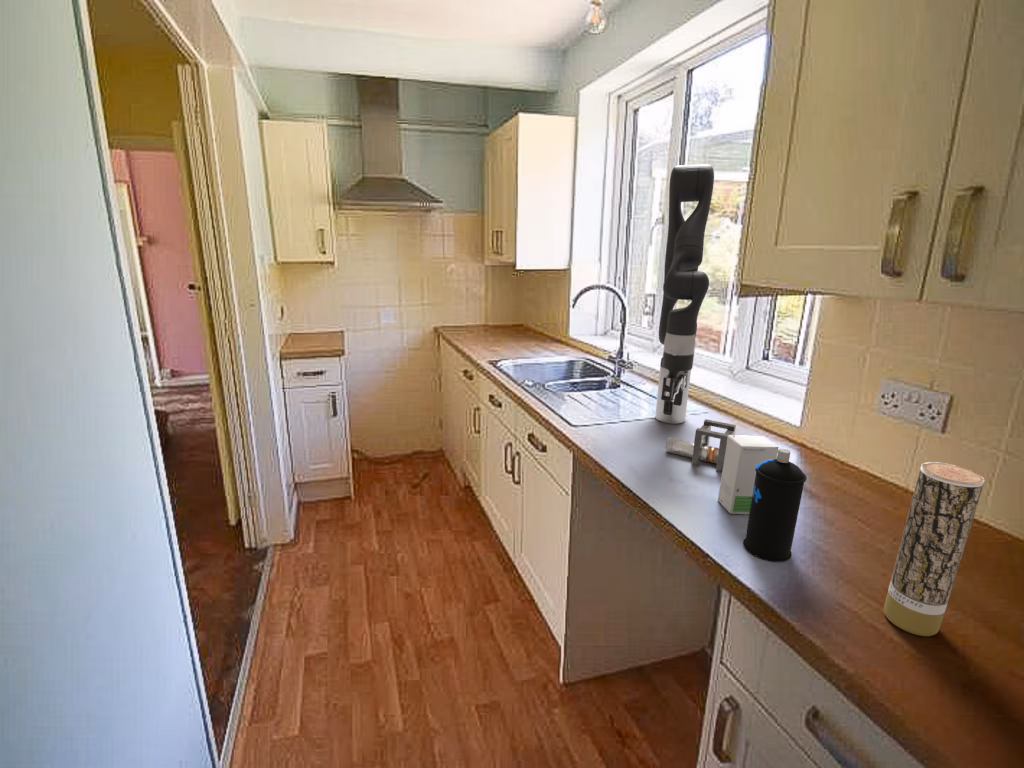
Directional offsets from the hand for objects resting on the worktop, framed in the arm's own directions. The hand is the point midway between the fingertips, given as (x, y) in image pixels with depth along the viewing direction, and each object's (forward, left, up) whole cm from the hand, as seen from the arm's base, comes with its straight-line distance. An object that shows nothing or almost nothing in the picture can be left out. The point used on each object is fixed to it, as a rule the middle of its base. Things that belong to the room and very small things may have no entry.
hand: (672, 409), depth 135 cm
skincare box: (+20, +23, -12) cm, 33 cm away
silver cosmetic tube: (0, +8, -12) cm, 14 cm away
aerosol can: (+34, +30, -12) cm, 47 cm away
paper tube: (+42, +51, -12) cm, 67 cm away
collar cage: (0, +12, -12) cm, 17 cm away
